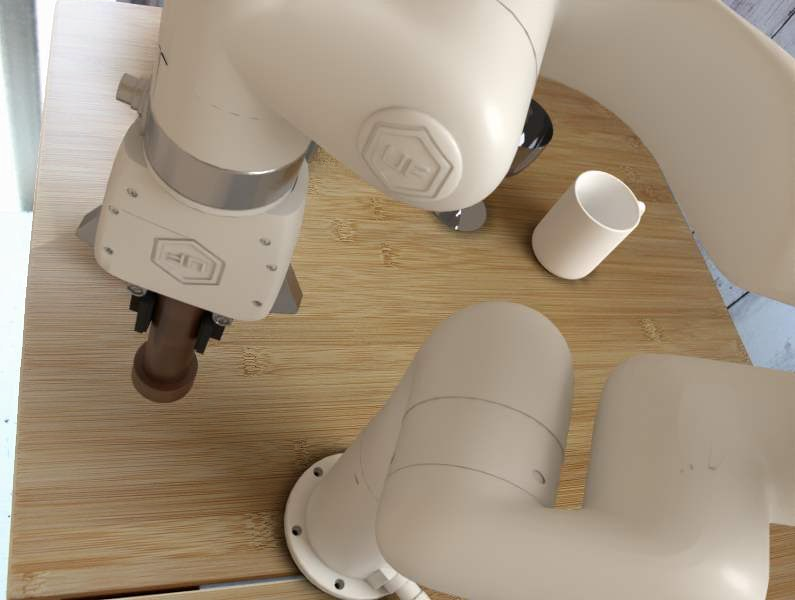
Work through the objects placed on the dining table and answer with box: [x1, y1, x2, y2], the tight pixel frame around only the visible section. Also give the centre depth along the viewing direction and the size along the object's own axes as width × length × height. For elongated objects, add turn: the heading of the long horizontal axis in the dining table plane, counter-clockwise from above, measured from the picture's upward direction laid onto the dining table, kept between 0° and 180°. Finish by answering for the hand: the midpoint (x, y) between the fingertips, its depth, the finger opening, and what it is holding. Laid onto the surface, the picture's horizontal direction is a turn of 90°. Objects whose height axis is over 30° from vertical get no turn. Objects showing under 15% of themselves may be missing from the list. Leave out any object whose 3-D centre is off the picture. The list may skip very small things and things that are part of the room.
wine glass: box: [433, 97, 554, 233], centre depth 90 cm, size 8×8×15 cm
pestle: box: [130, 293, 206, 404], centre depth 55 cm, size 4×4×13 cm
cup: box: [531, 169, 646, 280], centre depth 95 cm, size 8×12×10 cm
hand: (177, 323), depth 54 cm, fingers closed on pestle, 3 cm apart
